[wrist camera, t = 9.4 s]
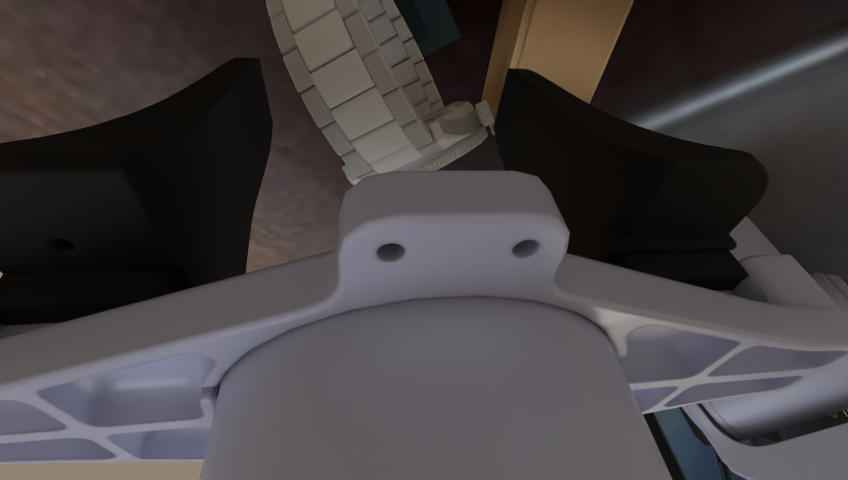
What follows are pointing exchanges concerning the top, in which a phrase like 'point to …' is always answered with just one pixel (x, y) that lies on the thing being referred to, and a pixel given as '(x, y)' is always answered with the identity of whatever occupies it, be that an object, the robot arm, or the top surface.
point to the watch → (377, 81)
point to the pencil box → (555, 43)
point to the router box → (693, 453)
